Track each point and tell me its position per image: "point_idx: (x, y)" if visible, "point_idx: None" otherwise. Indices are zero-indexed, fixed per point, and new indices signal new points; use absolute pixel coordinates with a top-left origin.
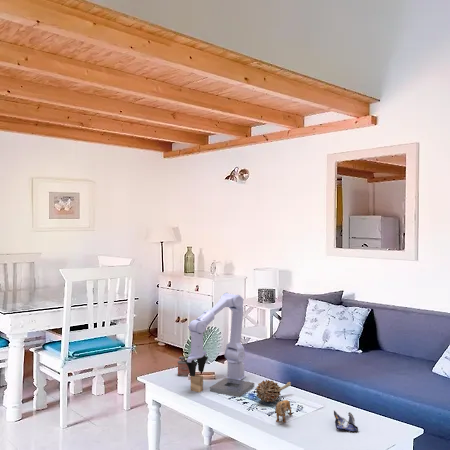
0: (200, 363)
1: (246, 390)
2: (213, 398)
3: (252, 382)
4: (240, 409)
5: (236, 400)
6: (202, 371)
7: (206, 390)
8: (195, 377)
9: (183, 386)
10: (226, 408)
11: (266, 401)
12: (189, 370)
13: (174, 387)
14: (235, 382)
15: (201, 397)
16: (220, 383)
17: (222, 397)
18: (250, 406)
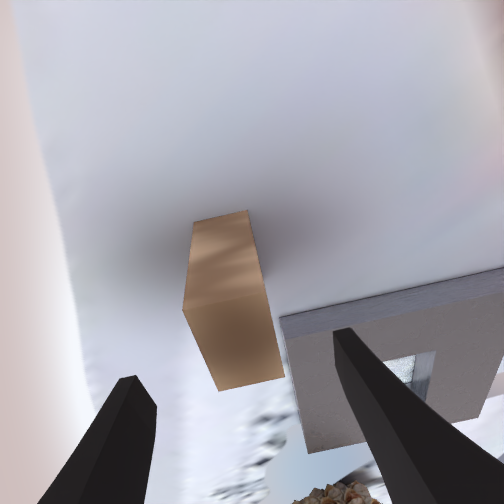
0: (395, 471)
1: None
2: (204, 389)
3: (480, 411)
4: (196, 485)
5: (261, 442)
6: (339, 374)
7: (279, 295)
8: (203, 353)
9: (222, 82)
10: (161, 466)
11: (303, 502)
12: (71, 462)
13: (118, 12)
14: (449, 372)
15: (161, 350)
16: (391, 336)
17: (248, 401)
18: (246, 484)
